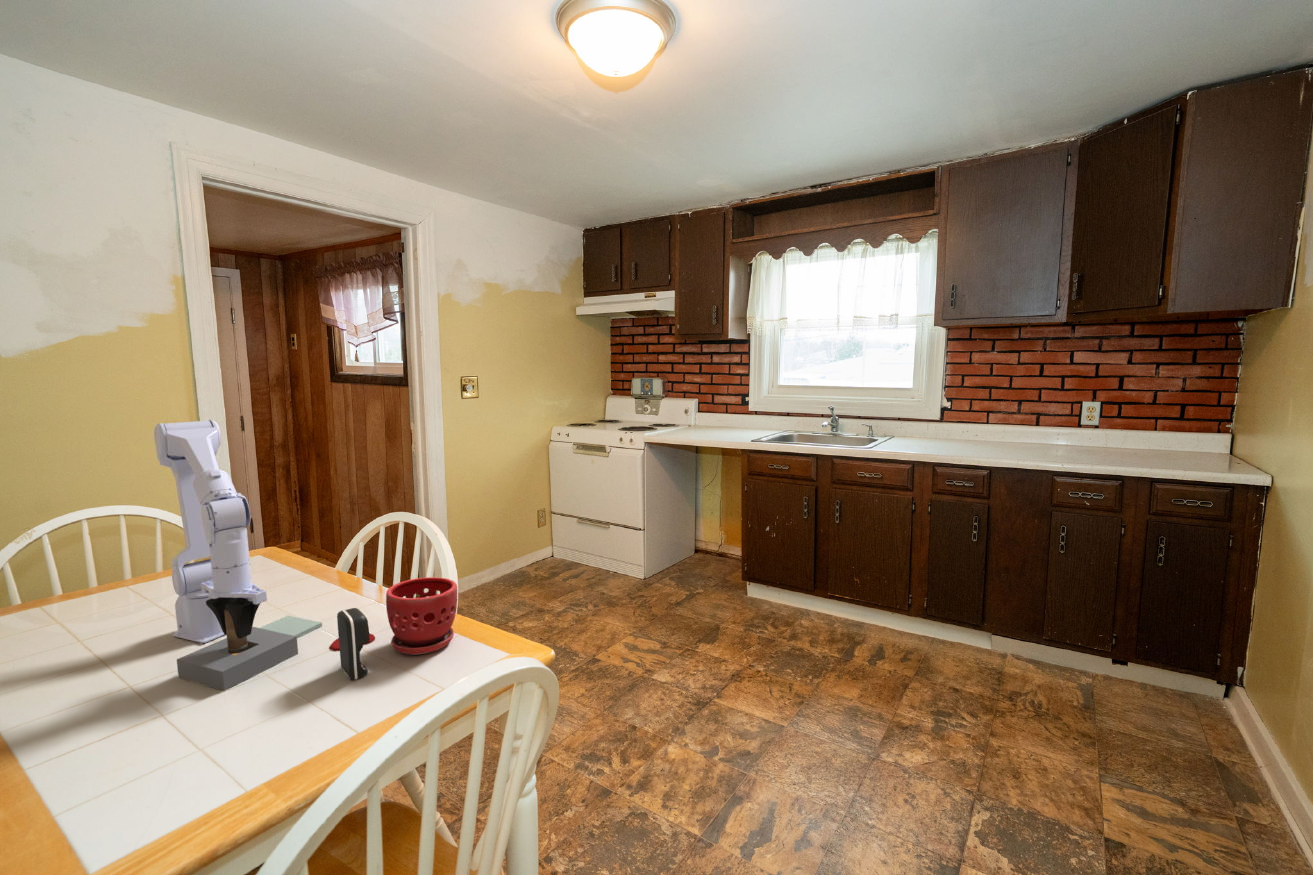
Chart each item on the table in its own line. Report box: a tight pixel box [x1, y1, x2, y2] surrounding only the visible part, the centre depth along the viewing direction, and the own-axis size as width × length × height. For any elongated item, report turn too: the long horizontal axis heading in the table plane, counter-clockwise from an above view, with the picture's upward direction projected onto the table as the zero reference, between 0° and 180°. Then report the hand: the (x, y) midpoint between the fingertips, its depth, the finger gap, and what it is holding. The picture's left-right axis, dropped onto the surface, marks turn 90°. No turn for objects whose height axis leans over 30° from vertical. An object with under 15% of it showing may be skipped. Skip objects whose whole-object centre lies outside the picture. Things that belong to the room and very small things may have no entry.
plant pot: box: [385, 576, 458, 656], centre depth 120 cm, size 13×13×12 cm
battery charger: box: [336, 607, 370, 681], centre depth 109 cm, size 7×4×11 cm, turn 42°
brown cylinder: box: [224, 609, 248, 654], centre depth 111 cm, size 3×3×8 cm
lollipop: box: [329, 632, 376, 652], centre depth 125 cm, size 8×1×15 cm
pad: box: [260, 615, 323, 639], centre depth 126 cm, size 10×9×1 cm
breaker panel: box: [176, 626, 299, 692], centre depth 112 cm, size 12×14×4 cm
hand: (237, 634), depth 112 cm, fingers closed on brown cylinder, 3 cm apart
